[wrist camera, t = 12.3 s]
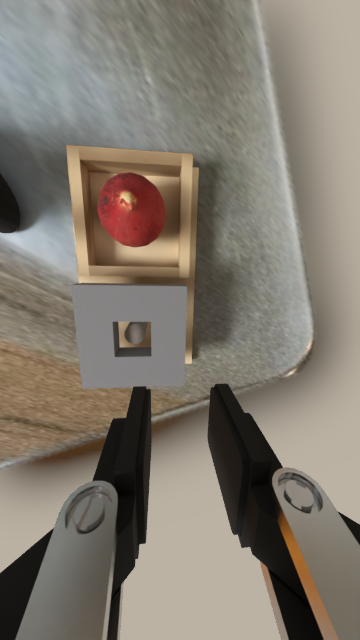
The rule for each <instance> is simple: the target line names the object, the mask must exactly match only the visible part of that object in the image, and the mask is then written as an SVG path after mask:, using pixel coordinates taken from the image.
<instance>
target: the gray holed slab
mask: <svg viewBox="0 0 360 640" xmlns="http://www.w3.org/2000/svg"><path fill="white" fill-rule="evenodd" d="M71 290H72V299H73V309H74V318H75V327H76V336H77V345H78V355H79V364H80V373H81V382H82V389H89V388H122V387H134V386H146V387H155V386H184V380H185V345H186V311H187V286H186V285H185V284H132V283H78V284H73V285H71ZM118 322H151V347H120V343H119V325H118Z"/></svg>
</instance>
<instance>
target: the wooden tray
mask: <svg viewBox="0 0 360 640" xmlns="http://www.w3.org/2000/svg"><path fill="white" fill-rule="evenodd" d="M66 149H67V165H68V175H69V185H70V195H71V205H72V216H73V226H74V236H75V246H76V256H77V266H78V276H79V283H132V284H185V285H186V286H187V311H186V345H185V364H192V338H193V311H194V285H195V258H196V232H197V205H198V179H199V168H196V167H192V166H193V154H185V153H171V152H157V151H143V150H130V149H116V148H102V147H88V146H74V145H66ZM128 172H132V173H135V174H138V175H142V176H144V177H145V178H147V179H148V180H149V181H150V182H152V183H153V184H154V185H155V186H156V187H157V189H158V190H159V192H160V194H161V196H162V198H163V200H164V205H165V211H166V218H165V223H164V228H163V230H162V231H161V233H160V234H159V236H158V238H157V239H156V240H154V241H153V242H151V243H150V244H149V245H147V246H142V247H136V248H134V247H130V246H125V245H122V244H121V243H119V242H118V241H116V240H115V239H113V238H112V237H111V236H110V235H109V234H108V233H107V231H106V230H105V229H104V227H103V226H102V224H101V221H100V217H99V214H98V210H97V207H98V200H99V193H100V191H101V190H102V188H103V186H104V185H105V183H106V181H107V180H108V179H110V178H112V177H113V176H115V175H117V174H119V173H128ZM118 325H119V343H120V347H151V322H118Z"/></svg>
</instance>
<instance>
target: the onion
mask: <svg viewBox="0 0 360 640" xmlns="http://www.w3.org/2000/svg"><path fill="white" fill-rule="evenodd" d="M97 210H98V214H99V217H100V221H101V224H102V226H103V227H104V229H105V230H106V231H107V233H108V234H109V235H110V236H111V237H112V238H113V239H115V240H116V241H118V242H119V243H121V244H122V245H125V246H130V247H134V248H136V247H142V246H147V245H149V244H150V243H151V242H153V241H154V240H156V239H157V238H158V236H159V234H160V233H161V231H162V230H163V228H164V223H165V218H166V211H165V205H164V200H163V198H162V196H161V194H160V192H159V190H158V189H157V187H156V186H155V185H154V184H153V183H152V182H150V181H149V180H148V179H147V178H145V177H144V176H142V175H138V174H135V173H132V172H128V173H119V174H117V175H115V176H113V177H112V178H110V179H108V180H107V181H106V183H105V185H104V186H103V188H102V190H101V191H100V193H99V200H98V207H97Z"/></svg>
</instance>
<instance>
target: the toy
mask: <svg viewBox="0 0 360 640" xmlns="http://www.w3.org/2000/svg"><path fill="white" fill-rule="evenodd" d="M19 224H20V211H19V206H18V204H17V201H16V198H15V196H14V194H13V193H12V191H11V189H10V187H9V186H8V184H7V182H6V181H5V179H4V178H3V177H2V175H1V174H0V232H1V233H12V232H14V231H16V230H17V228H18V227H19Z"/></svg>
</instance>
